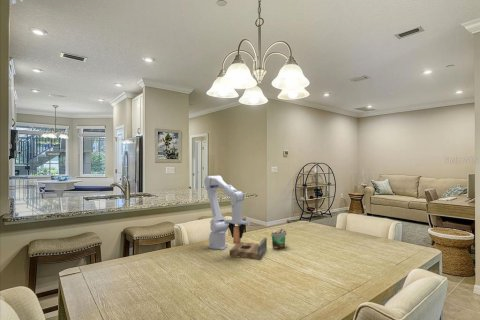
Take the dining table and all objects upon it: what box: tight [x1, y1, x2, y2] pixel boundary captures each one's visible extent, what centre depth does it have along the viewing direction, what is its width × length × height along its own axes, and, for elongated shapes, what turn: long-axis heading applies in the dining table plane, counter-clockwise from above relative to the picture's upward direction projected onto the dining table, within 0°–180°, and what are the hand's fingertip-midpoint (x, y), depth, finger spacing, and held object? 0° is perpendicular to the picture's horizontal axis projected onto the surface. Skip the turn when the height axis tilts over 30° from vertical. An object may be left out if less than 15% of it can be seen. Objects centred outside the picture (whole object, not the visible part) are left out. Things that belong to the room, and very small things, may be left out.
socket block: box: [229, 237, 268, 260], centre depth 151 cm, size 18×16×7 cm
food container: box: [271, 228, 288, 250], centre depth 159 cm, size 12×6×10 cm, turn 143°
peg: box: [232, 225, 242, 245], centre depth 147 cm, size 4×4×9 cm
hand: (237, 237), depth 147 cm, fingers closed on peg, 4 cm apart
